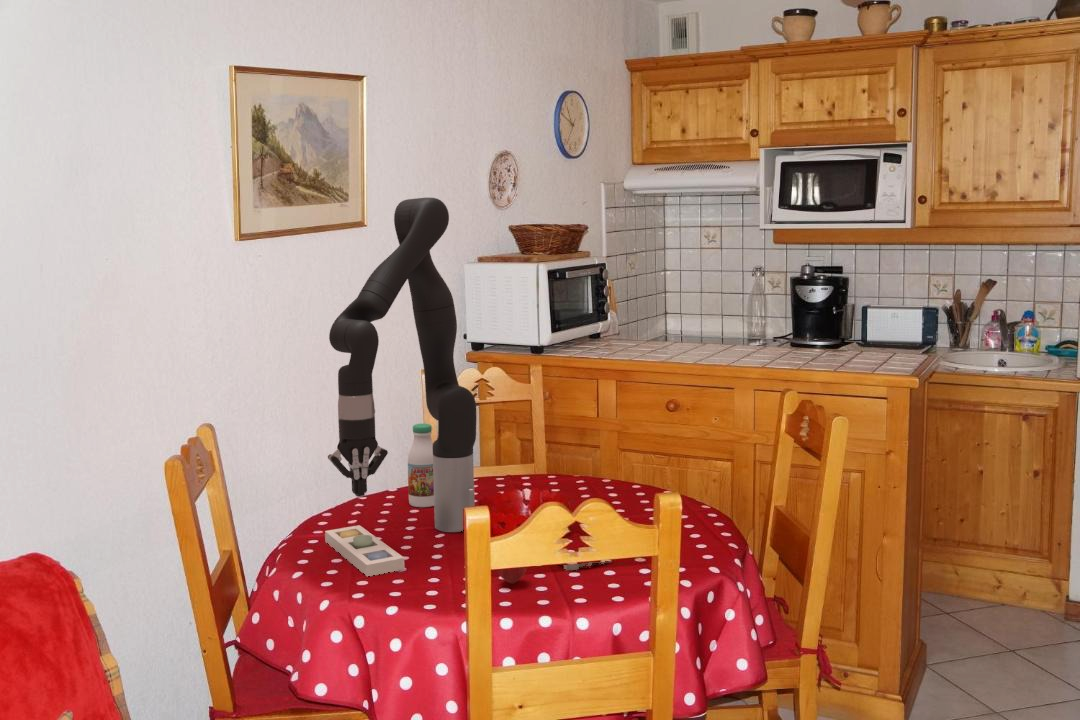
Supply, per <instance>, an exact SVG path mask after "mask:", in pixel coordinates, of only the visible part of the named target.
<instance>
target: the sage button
mask: <svg viewBox="0 0 1080 720" xmlns="http://www.w3.org/2000/svg"><path fill="white" fill-rule="evenodd" d="M371 546H373V544H372V536H369V535H360V536H356V537H354V538H353V547H354V548H355V549H360V548H365V547H371Z"/></svg>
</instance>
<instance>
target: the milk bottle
mask: <svg viewBox="0 0 1080 720" xmlns="http://www.w3.org/2000/svg"><path fill="white" fill-rule="evenodd" d="M432 428H433V427H432V424H430V423H416V424H413V426H412V435H413V440H412V441H413V442H412V444H411V447H410V449H409V450H408V451H409V452H408V455H407V456H408V457H407V481H408V482H407V485H408V486H407V488H408V489H407V490H408V502H409V505H410V506H412V507H415V508H430V507H434V480H433V443H434V441H433V440H432V434H433V432H432V430H433V429H432Z"/></svg>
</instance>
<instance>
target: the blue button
mask: <svg viewBox="0 0 1080 720" xmlns="http://www.w3.org/2000/svg"><path fill="white" fill-rule="evenodd" d="M383 558H388V557H387V553H386V552H382V551H377V552H371V553H369V554H368V559H369V560H370V561H372V560H377V559H383Z"/></svg>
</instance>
